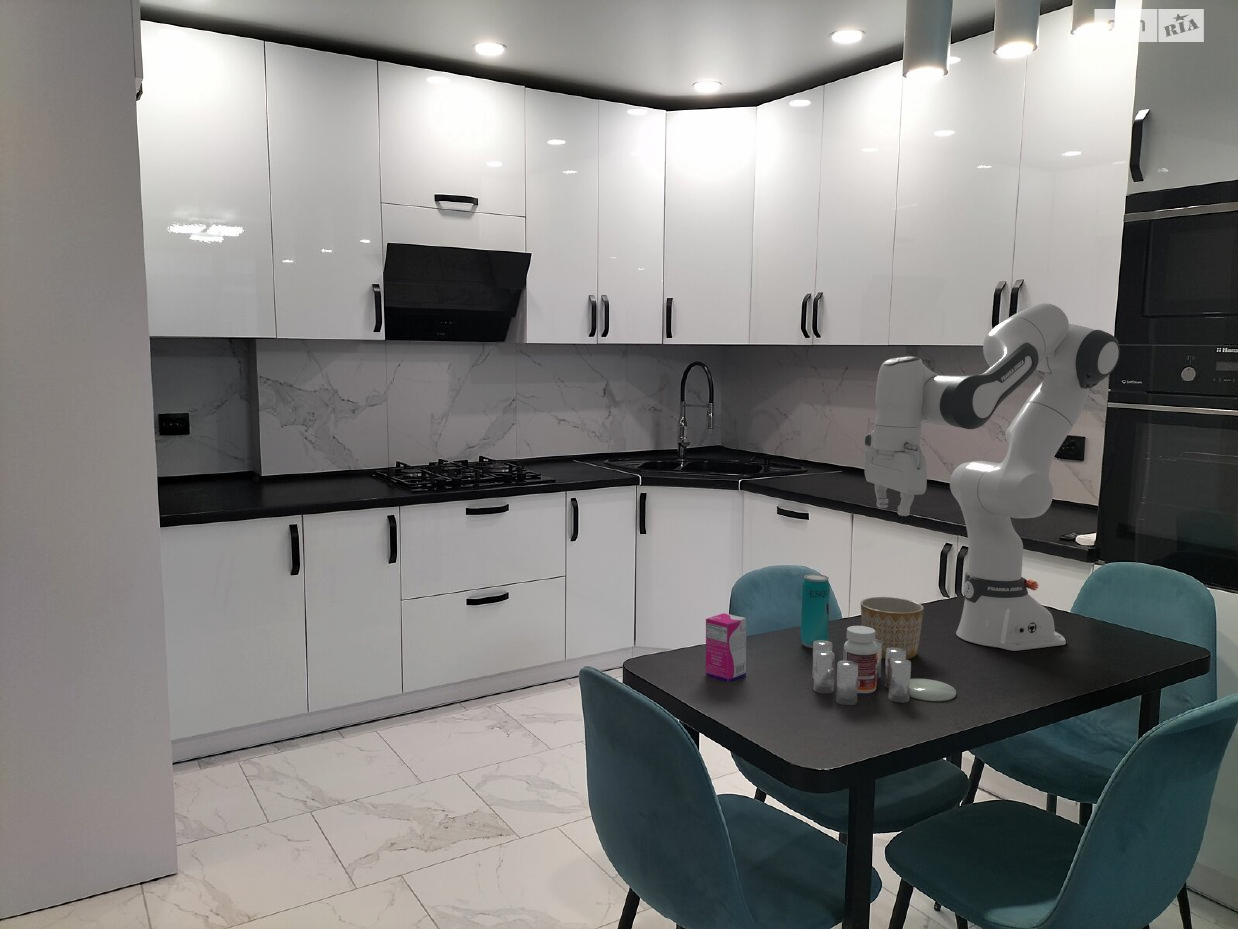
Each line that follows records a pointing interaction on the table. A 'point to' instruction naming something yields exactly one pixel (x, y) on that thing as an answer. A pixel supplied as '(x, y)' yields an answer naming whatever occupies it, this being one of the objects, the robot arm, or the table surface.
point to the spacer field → (848, 673)
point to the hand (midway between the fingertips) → (892, 511)
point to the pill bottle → (862, 656)
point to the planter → (894, 622)
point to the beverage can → (814, 609)
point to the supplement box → (726, 647)
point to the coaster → (931, 690)
